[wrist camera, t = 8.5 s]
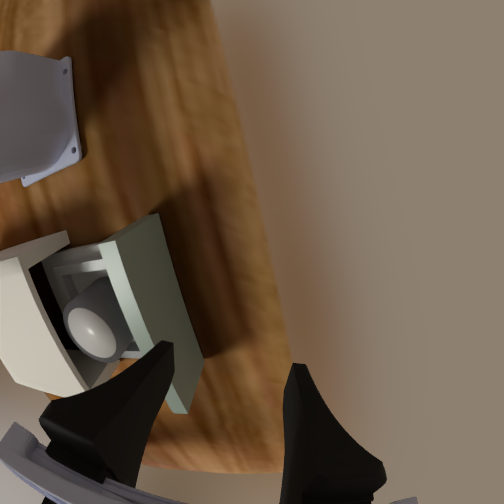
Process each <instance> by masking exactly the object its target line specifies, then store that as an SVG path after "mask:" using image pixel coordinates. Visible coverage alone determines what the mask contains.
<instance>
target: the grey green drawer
mask: <svg viewBox="0 0 504 504" xmlns="http://www.w3.org/2000/svg"><path fill="white" fill-rule="evenodd" d="M41 262H42V265H43V268H44V270H45V273H46V276H47V278H48V281H49V283H50V286H51V288H52V291H53V293H54V296H55V298H56V300H57V303H58V305H59V307H60V309H61V311H62V314H63V312H64V309H65V307H66V305H67V304H68V303H69V302H71V301H72V300H73V299H74V298H75V297H76V296H77V295H79V294H80V293H81V292H82V291H83V290H84V289H86V288H87V287H88V286H89V285H90V284H92V283H93V282H94V281H95V280H97V279H98V278H100V277H106V276H108V277H109V278H110V281H111V284H112V286H113V289H114V292H115V294H116V297H117V299H118V302H119V304H120V307H121V309H122V312H123V314H124V317H125V319H126V321H127V324H128V326H129V328H130V330H131V333H132V335H133V337H134V339H133V340H132V341H131V343H130V344H129V346H128V347H127V349H126V350H125V352H124V353H123V354H122V356H121V357H120V358H141V357H142V356H144V355H145V354H146V353H147V352H148V351H150V350H151V349H152V348H153V347H154V346H155V345H156V344H157V343H159V342H160V341H161V340H164V341H168V342H173V343H174V364H175V373H174V376H173V379H172V382H171V385H170V388H169V391H168V393H167V395H166V397H165V400H166V402H167V403H168V405H169V407H170V409H171V410H172V412H173V413H180V414H188V412H189V409H190V406H191V403H192V400H193V397H194V393H195V390H196V387H197V384H198V381H199V378H200V375H201V372H202V369H203V366H204V362H205V361H204V359H203V356H202V353H201V350H200V348H199V345H198V342H197V339H196V336H195V334H194V331H193V328H192V325H191V322H190V319H189V316H188V313H187V310H186V307H185V304H184V301H183V297H182V294H181V291H180V288H179V285H178V281H177V278H176V275H175V271H174V268H173V264H172V261H171V258H170V254H169V250H168V247H167V243H166V239H165V236H164V232H163V228H162V224H161V220H160V216H159V213H156V214H152V215H147V216H144V217H142V218H140V219H138V220H137V221H135V222H133V223H132V224H130V225H128V226H127V227H125V228H123V229H122V230H120V231H118V232H117V233H115V234H113V235H112V236H110V237H109V238H107V239H105V240H104V241H102V242H98V243H93V244H89V245H84V246H80V247H75V248H71V249H66V250H62V251H58V252H55V253H53V254H51V255H50V256H48V257H46V258H45V259H43V260H41ZM82 353H83V354H85V353H84V352H83V351H82Z"/></svg>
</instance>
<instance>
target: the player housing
mask: <svg viewBox="0 0 504 504" xmlns="http://www.w3.org/2000/svg"><path fill="white" fill-rule="evenodd" d="M68 244H70V241H69V237H68V234H67V231H66V230H65V231H61V232H58V233H54V234H51V235H48V236H44V237H41V238H38V239H35V240H32V241H28V242H25V243H22V244H19V245H16V246H13V247H10V248H7V249H4V250H1V251H0V359H1V360H2V362H3V364H4V365H5V367H6V369H7V370H8V372H9V373H10V375H11V376H12V378H13V379H14V381H15V382H16V383H19V384H22V385H25V386H28V387H31V388H34V389H37V390H40V391H44V392H47V393H51V394H54V395H58V396H62V397H69V396H72V395H76V394H79V393H82V392H84V391H87V390H90V389H92V388H94V387H96V386H98V385H100V384H103V383H105V382H106V381H108V380H109V379H110V377H111V376H112V374H113V372H114V371H115V369H116V368H117V366H118V365H119V363H120V360H117V361H115V362H112V363H105V362H100V361H97V360H95V359H93V358H91V357H89V356H88V355H86V354H83V353H82V351H80V350H69V349H65V348H64V347H63V345H62V343H61V341H60V339H59V337H58V335H57V333H56V331H55V330H54V328H53V326H52V324H51V321H50V319H49V317H48V315H47V313H46V311H45V309H44V307H43V304H42V302H41V300H40V298H39V295H38V293H37V290H36V288H35V286H34V283H33V281H32V278H31V275H30V273H29V270H28V269H29V268H30V267H32V266H34V265H35V264H37V263H38V262H40V261H41V260H43V259H45V258H46V257H48V256H50V255H51V254H53V253H55V252H56V251H58V250H60V249H61V248H63V247H65V246H66V245H68Z"/></svg>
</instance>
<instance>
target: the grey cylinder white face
mask: <svg viewBox="0 0 504 504" xmlns="http://www.w3.org/2000/svg"><path fill="white" fill-rule="evenodd" d="M63 320H64V325H65V328H66V330H67V333H68V334H69V336H70V338H71V339H72V341H73V342H74V343H75V344H76V346H77V347H78V348H79V349H80V350H81V351H83V352H84V353H85V354H86V355H88V356H89V357H91V358H93V359H95V360H97V361H100V362H105V363H112V362H115V361H117V360H119V359H120V357H121V356H122V354H123V353H124V352H125V350H126V349H127V347H128V346H129V344H130V343H131V341H132V340H133V339H134V337H133V335H132V333H131V330H130V328H129V326H128V324H127V321H126V319H125V317H124V314H123V312H122V309H121V307H120V304H119V302H118V299H117V297H116V294H115V292H114V289H113V286H112V284H111V281H110V278H109V277H108V276H106V277H100V278H98V279H97V280H95V281H94V282H93V283H92V284H90V285H89V286H88V287H87V288H86V289H84V290H83V291H82V292H81V293H80V294H79V295H77V296H76V297H75V298H74V299H73V300H72V301H71V302H69V303H68V304H67V305H66V307H65V309H64V312H63Z"/></svg>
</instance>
